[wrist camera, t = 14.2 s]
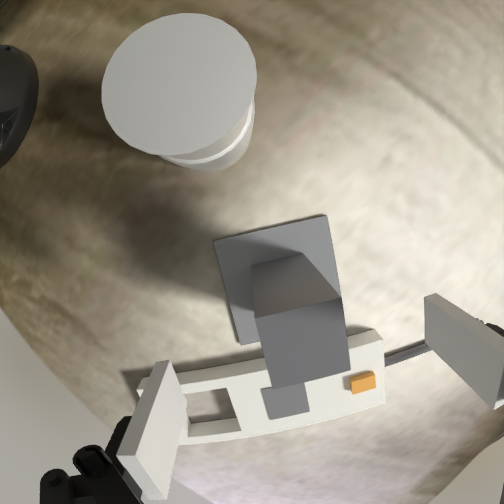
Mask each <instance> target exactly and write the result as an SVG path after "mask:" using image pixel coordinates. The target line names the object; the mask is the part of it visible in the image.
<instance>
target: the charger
mask: <svg viewBox="0 0 504 504" xmlns="http://www.w3.org/2000/svg"><path fill="white" fill-rule="evenodd" d="M251 270H252V287H253V303H254V319H255V323H256V327H257V331H258V334H259V338H260V342H261V346H262V350H263V354H264V358H265V362H266V366H267V370H268V374H269V377H270V381H271V385H272V389H273V390H274V389H278V388H283V387H287V386H292V385H296V384H300V383H304V382H309V381H313V380H317V379H320V378H324V377H328V376H332V375H336V374H339V373H343V372H346V371H350V370H351V365H350V356H349V348H348V340H347V332H346V325H345V318H344V311H343V304H342V297H341V296H340V295H339V294H338V293H337V291H336V290H335V289H334V288H333V287H332V286H331V285H330V283H329V282H328V281H327V280H326V279H325V278H324V276H323V275H322V274H321V273H320V272H319V271H318V269H317V268H316V267H315V266H314V265H313V264H312V263H311V261H310V260H309V259H308V258H307V257H306V256H305V255H304V253H301V254H297V255H293V256H289V257H284V258H280V259H276V260H271V261H267V262H263V263H258V264H254V265H251Z"/></svg>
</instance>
